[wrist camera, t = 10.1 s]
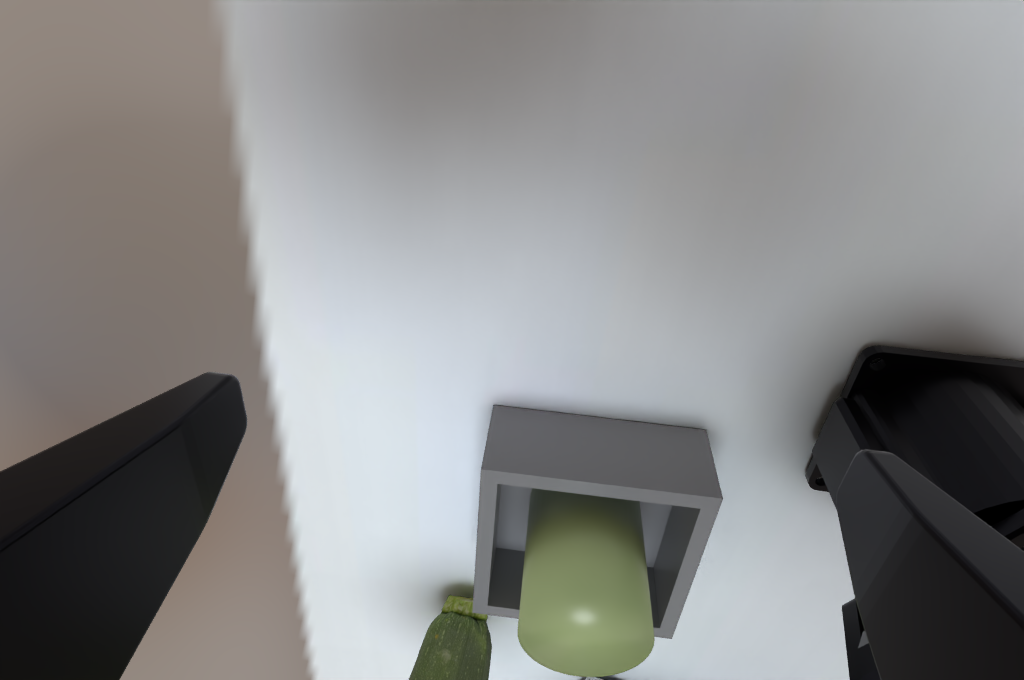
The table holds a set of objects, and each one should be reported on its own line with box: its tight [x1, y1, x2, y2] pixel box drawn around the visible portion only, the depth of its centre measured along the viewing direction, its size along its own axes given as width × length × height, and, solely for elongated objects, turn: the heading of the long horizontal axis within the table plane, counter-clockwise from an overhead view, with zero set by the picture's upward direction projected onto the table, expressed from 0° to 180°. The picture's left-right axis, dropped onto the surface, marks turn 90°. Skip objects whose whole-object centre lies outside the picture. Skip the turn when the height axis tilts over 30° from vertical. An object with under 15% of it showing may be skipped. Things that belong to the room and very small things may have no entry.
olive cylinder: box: [518, 488, 654, 677], centre depth 23 cm, size 4×4×6 cm
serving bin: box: [472, 405, 723, 639], centre depth 25 cm, size 8×8×4 cm
